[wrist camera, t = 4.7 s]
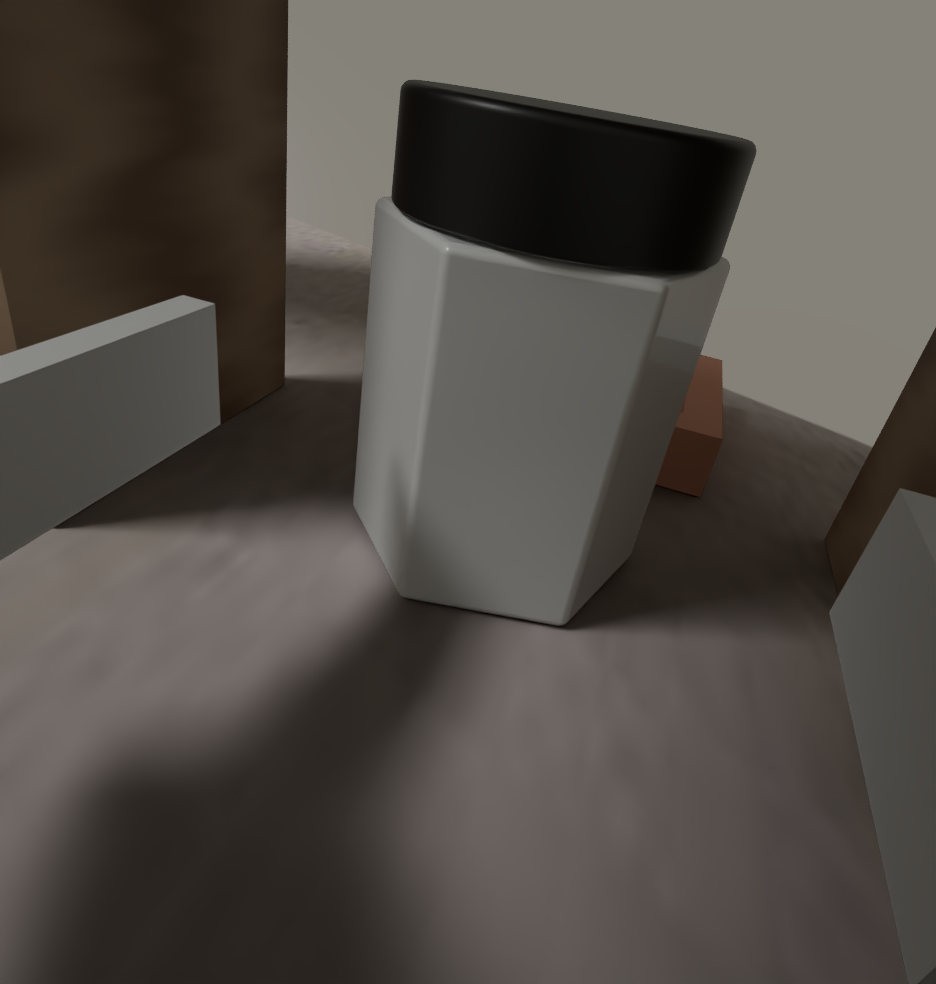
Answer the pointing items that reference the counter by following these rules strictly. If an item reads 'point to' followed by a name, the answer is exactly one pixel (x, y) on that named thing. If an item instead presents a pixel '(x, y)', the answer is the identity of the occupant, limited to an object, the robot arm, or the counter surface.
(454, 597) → the jar
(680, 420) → the tray
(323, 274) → the counter surface
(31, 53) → the archway
